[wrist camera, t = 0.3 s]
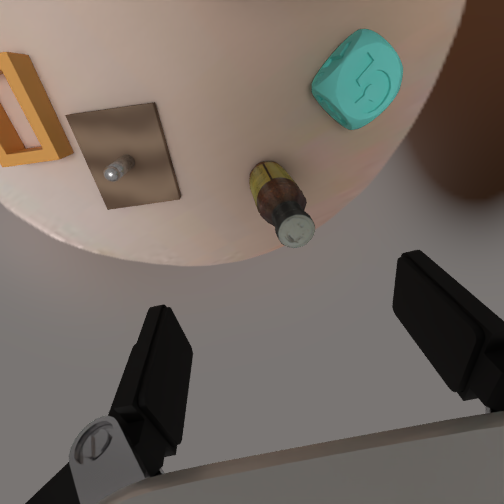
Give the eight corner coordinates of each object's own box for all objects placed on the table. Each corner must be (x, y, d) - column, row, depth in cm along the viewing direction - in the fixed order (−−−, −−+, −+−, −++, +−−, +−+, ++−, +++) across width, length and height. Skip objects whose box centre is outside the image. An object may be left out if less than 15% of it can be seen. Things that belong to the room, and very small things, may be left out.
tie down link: (-35, 63, 34) (-64, 61, 30) (28, 55, 34) (6, 51, 30) (21, 160, 40) (2, 167, 37) (74, 152, 40) (59, 159, 37)
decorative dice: (347, 33, 35) (375, 21, 28) (382, 79, 38) (415, 78, 31) (304, 88, 38) (321, 88, 31) (339, 126, 41) (361, 135, 34)
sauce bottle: (254, 200, 46) (269, 266, 30) (243, 166, 43) (254, 218, 26) (290, 189, 46) (327, 249, 29) (282, 153, 42) (318, 198, 26)
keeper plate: (70, 114, 37) (31, 122, 30) (155, 102, 37) (136, 107, 30) (111, 206, 45) (87, 230, 37) (181, 196, 45) (171, 218, 37)
